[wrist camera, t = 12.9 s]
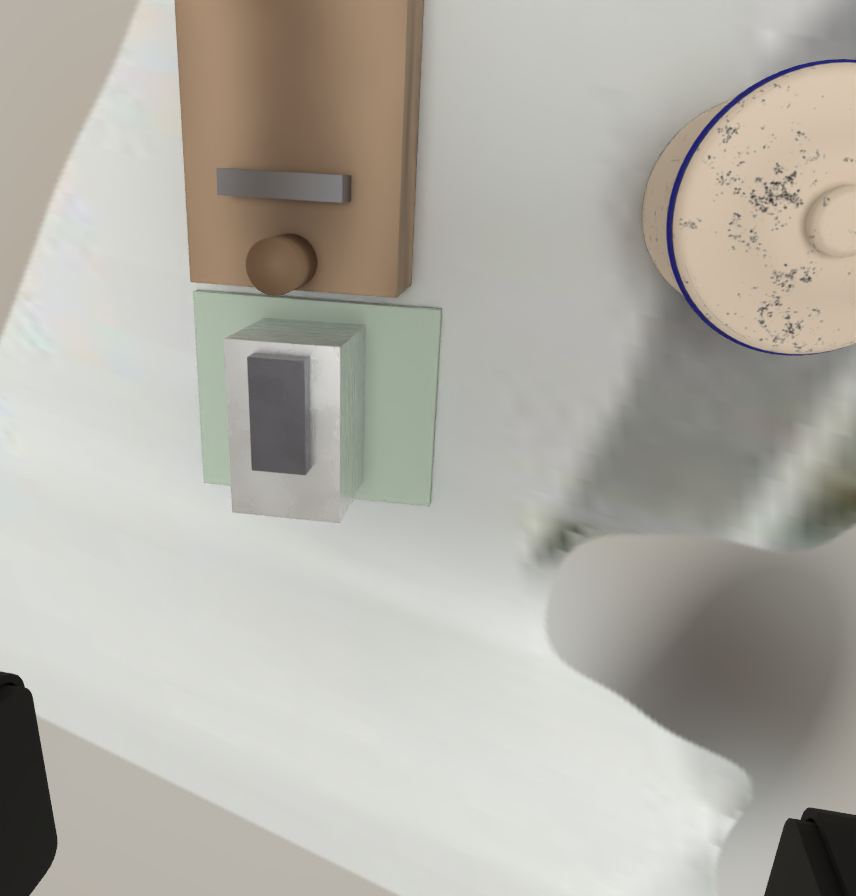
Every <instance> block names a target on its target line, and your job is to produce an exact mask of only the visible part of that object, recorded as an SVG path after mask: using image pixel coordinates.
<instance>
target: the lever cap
mask: <svg viewBox="0 0 856 896" xmlns="http://www.w3.org/2000/svg"><path fill="white" fill-rule="evenodd" d="M365 355H366V325H360V324H346V323H331V322H317V321H303V320H288V319H274V318H263V319H261V320H259V321H257V322H255V323H253V324H251V325H249V326H247V327H245V328H243V329H241V330H239V331H237V332H235V333H234V334H232V335H230V336H228V337H226V338H224V358H225V378H226V397H227V416H228V436H229V455H230V474H231V494H232V512H235V513H245V514H255V515H265V516H275V517H285V518H295V519H305V520H315V521H325V522H335V523H340V522H341V520H342V518H343V516H344V515H345V513H346V511H347V509H348V508H349V506H350V504H351V502H352V501H353V499H354V497H355V495H356V493H357V492H358V490H359V488H360V486H361V485H362V483H363V481H364V423H365Z"/></svg>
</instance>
